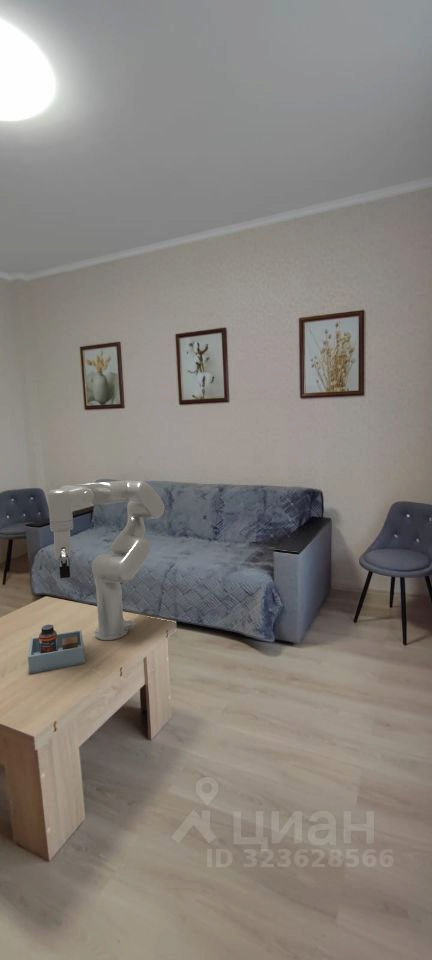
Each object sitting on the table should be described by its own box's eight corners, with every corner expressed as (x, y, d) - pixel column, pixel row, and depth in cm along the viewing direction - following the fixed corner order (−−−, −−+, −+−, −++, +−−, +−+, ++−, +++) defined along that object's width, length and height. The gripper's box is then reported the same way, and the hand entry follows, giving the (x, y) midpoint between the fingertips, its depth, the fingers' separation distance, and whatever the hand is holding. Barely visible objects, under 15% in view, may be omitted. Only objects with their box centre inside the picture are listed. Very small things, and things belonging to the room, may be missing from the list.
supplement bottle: (40, 663, 156) (38, 631, 155) (40, 655, 161) (37, 625, 160) (59, 659, 158) (56, 628, 157) (57, 652, 164) (55, 621, 162)
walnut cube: (77, 649, 165) (77, 636, 165) (78, 655, 160) (77, 642, 160) (63, 651, 164) (62, 638, 163) (63, 658, 159) (62, 644, 158)
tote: (82, 644, 170) (81, 630, 170) (84, 663, 157) (83, 647, 156) (32, 653, 165) (30, 638, 164) (29, 673, 151) (28, 657, 150)
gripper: (50, 521, 164) (54, 567, 166) (49, 531, 147) (53, 582, 149) (72, 519, 166) (75, 565, 168) (73, 529, 150) (77, 579, 152)
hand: (65, 573), depth 159 cm, fingers open, 9 cm apart
